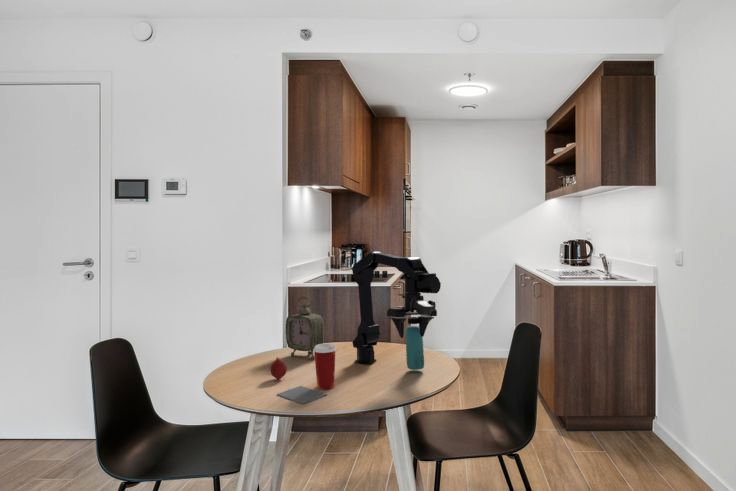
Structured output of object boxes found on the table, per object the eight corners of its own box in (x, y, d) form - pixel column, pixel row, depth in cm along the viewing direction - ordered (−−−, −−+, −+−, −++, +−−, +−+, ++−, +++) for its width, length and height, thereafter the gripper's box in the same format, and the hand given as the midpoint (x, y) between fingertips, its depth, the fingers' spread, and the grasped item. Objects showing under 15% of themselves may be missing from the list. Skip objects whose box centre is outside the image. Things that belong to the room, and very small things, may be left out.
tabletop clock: (286, 356, 195) (284, 297, 194) (300, 351, 203) (298, 294, 202) (313, 361, 188) (311, 299, 187) (327, 355, 195) (325, 296, 194)
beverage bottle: (423, 374, 168) (421, 319, 167) (405, 373, 169) (403, 319, 168) (425, 368, 174) (423, 315, 173) (407, 368, 175) (405, 315, 175)
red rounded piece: (289, 377, 168) (289, 355, 167) (281, 382, 162) (281, 360, 162) (275, 376, 170) (275, 354, 169) (267, 381, 164) (266, 358, 164)
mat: (276, 394, 150) (276, 394, 150) (300, 386, 158) (300, 385, 158) (303, 404, 142) (303, 403, 142) (327, 395, 149) (327, 394, 149)
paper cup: (341, 386, 157) (340, 345, 157) (324, 392, 152) (323, 350, 151) (326, 381, 162) (325, 341, 162) (309, 387, 157) (308, 346, 156)
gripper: (406, 293, 154) (405, 341, 152) (447, 293, 164) (447, 338, 163) (386, 292, 163) (385, 337, 162) (426, 292, 173) (426, 335, 172)
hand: (412, 337), depth 164 cm, fingers open, 9 cm apart
